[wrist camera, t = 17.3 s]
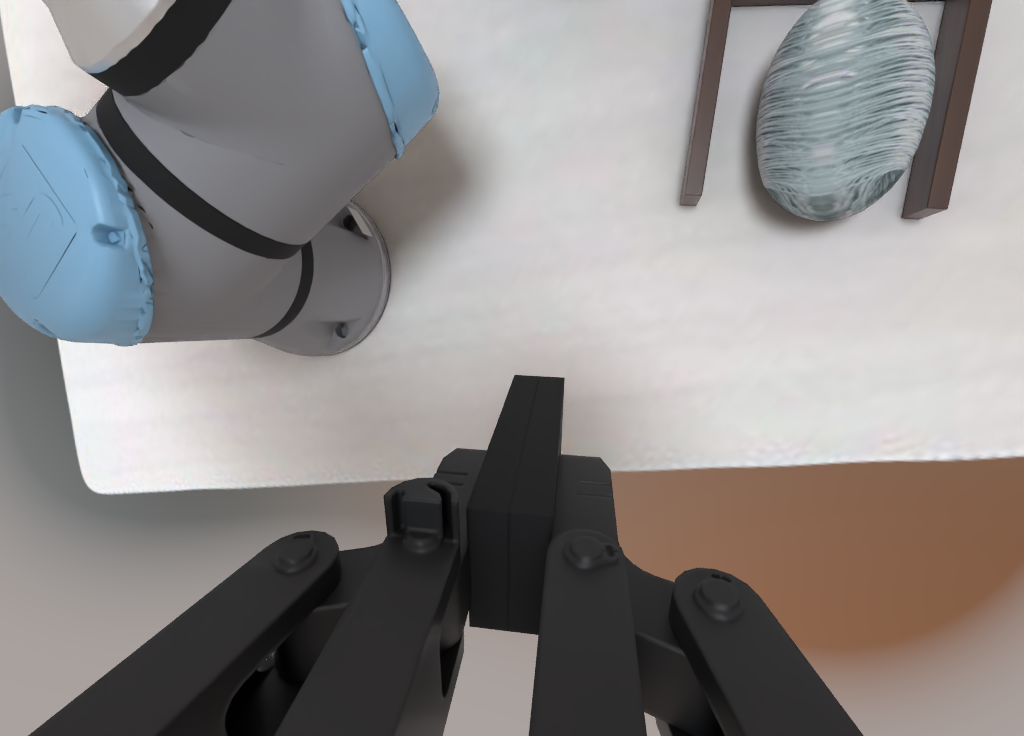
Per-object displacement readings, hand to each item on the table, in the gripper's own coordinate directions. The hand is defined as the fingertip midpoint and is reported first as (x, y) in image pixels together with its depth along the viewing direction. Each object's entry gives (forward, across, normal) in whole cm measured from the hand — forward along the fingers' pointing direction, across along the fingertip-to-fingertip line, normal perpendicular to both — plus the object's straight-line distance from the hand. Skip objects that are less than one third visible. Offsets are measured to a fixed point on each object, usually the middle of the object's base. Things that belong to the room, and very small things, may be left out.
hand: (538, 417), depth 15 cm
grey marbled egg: (+28, +18, +11) cm, 35 cm away
